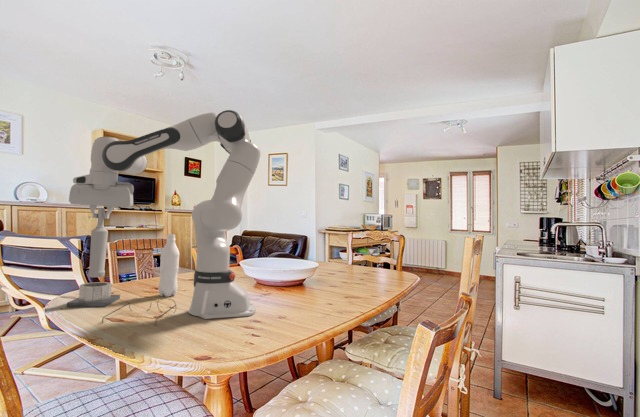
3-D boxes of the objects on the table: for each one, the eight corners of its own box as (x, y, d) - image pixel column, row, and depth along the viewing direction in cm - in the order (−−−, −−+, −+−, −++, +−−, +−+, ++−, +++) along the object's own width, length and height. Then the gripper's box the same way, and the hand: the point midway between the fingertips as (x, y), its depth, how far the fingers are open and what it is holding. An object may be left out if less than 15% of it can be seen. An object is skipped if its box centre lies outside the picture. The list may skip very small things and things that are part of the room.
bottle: (93, 278, 114) (99, 207, 115) (84, 276, 116) (89, 207, 117) (108, 276, 119) (113, 208, 120) (98, 274, 121) (104, 208, 122)
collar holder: (119, 298, 124) (120, 281, 124) (105, 306, 112) (106, 288, 113) (84, 298, 122) (86, 281, 122) (66, 307, 110) (67, 287, 110)
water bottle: (161, 293, 135) (165, 233, 136) (179, 293, 136) (183, 234, 137) (155, 297, 128) (159, 234, 129) (173, 297, 129) (177, 235, 130)
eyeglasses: (177, 313, 110) (178, 298, 110) (155, 327, 95) (156, 310, 95) (130, 311, 110) (131, 296, 110) (101, 325, 95) (102, 308, 95)
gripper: (137, 183, 124) (134, 219, 123) (77, 180, 120) (74, 217, 120) (131, 181, 118) (128, 219, 117) (67, 177, 114) (64, 217, 113)
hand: (100, 218), depth 118 cm, fingers closed on bottle, 2 cm apart
